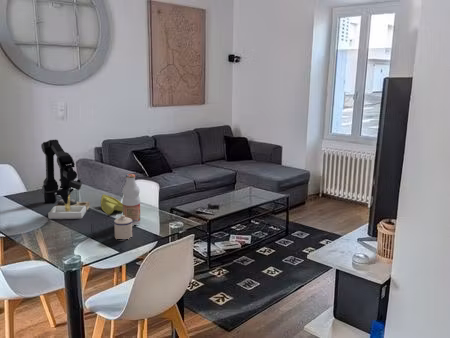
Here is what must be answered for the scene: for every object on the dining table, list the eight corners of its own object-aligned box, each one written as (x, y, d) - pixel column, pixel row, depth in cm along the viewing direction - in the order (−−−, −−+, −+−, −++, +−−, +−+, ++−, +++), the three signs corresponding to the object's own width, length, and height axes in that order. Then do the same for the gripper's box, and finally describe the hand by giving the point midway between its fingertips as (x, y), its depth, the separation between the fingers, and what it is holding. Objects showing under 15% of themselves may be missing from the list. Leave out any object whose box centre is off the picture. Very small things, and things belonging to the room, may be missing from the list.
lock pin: (63, 211, 233) (62, 194, 230) (65, 209, 236) (64, 192, 234) (70, 211, 233) (69, 194, 231) (72, 209, 237) (71, 192, 234)
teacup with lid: (136, 237, 207) (135, 215, 204) (121, 242, 200) (120, 220, 197) (122, 230, 215) (122, 210, 212) (107, 235, 208) (106, 214, 205)
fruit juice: (119, 224, 224) (118, 175, 218) (132, 219, 231) (131, 172, 225) (131, 228, 219) (129, 178, 212) (144, 223, 226) (143, 174, 220)
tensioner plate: (55, 210, 242) (55, 202, 241) (59, 206, 250) (59, 198, 248) (86, 210, 244) (86, 202, 243) (89, 206, 252) (89, 198, 250)
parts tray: (48, 218, 228) (48, 213, 227) (54, 211, 240) (54, 206, 239) (81, 218, 230) (81, 212, 230) (86, 211, 242) (85, 206, 241)
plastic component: (128, 208, 244) (114, 204, 237) (123, 219, 244) (109, 215, 237) (114, 197, 258) (101, 193, 252) (109, 208, 258) (96, 204, 252)
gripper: (76, 180, 222) (77, 208, 225) (83, 172, 240) (85, 198, 243) (55, 180, 221) (56, 208, 224) (64, 172, 239) (65, 198, 242)
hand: (67, 202), depth 233 cm, fingers closed on lock pin, 3 cm apart
